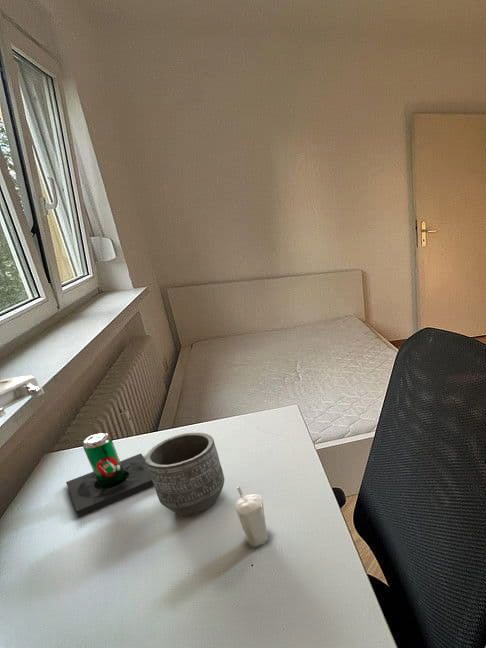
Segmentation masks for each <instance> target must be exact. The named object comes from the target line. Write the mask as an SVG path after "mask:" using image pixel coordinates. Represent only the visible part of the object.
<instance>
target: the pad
mask: <svg viewBox="0 0 486 648" xmlns="http://www.w3.org/2000/svg"><path fill="white" fill-rule="evenodd" d="M120 462H121V465H122V467H123V470H124V473H125V475H126V478H127V479H126V480H125V481H124V482H122V483H121V484H119V485H117V486H114V487H112V488H108V489H101V488H100V486H99V484H98V481H97V479H96V477H95V474H94V472H93V471H91V472H88V473H86V474H84V475H80V476H78V477H76V478H73V479H70V480H67V481H66V487H67V489H68V491H69V494H70V497H71V500H72V503H73V506H74V508H75V511H76V514H77V516H78V518H81V517H83V516H85V515H88V514H90V513H93V512H95V511H97V510H100V509H102V508H105V507H108V506H109V505H111V504H115V503H116V502H118V501H121V500H123V499H126V498H128V497H131V496H133V495H136V494H137V493H140V492H143V491H145V490H147V489H149V488H151V487H155V486H154V484H153V481H152V479H151V476H150V473H149V471H148V467H147V464H146V461H145V457H144V455H143V454H142V453H138V454H136V455H133V456H131V457H128V458H125V459H122V460H120ZM99 488H100V489H99Z"/></svg>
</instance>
